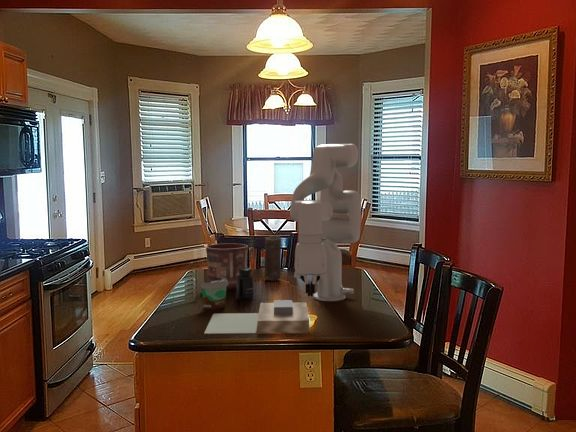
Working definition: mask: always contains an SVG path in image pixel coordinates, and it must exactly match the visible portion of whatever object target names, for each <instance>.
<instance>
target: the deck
mask: <svg viewBox="0 0 576 432" xmlns="http://www.w3.org/2000/svg"><path fill="white" fill-rule="evenodd" d="M292 305H293V315H274V302H260V304H259V309H258V313H259V315H258V320H257V334H258V335H259V334H260V335H261V334H310V317H309V311H308V306H307V302H306V301H305V302H304V301H303V302H298V301H297V302H292Z"/></svg>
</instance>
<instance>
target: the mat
mask: <svg viewBox="0 0 576 432" xmlns="http://www.w3.org/2000/svg"><path fill="white" fill-rule="evenodd" d="M258 315H259V312H253V313H252V312H249V313H248V312H247V313H246V312H244V313H243V312H242V313H240V312H238V313H237V312H236V313H231V312H230V313H229V312H228V313H213V314H212V316H211V318H210V320H209V321H208V324H207V326H206V329H205V330H204V333H203V334H204V335H235V334H236V335H239V334H241V335H243V334H246V335H247V334H249V335H252V334H253V335H255V334H257V331H258V329H257V320H258Z"/></svg>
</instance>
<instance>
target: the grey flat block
mask: <svg viewBox="0 0 576 432" xmlns="http://www.w3.org/2000/svg"><path fill="white" fill-rule="evenodd" d="M273 303H274V315H293V305H292V303H293V300H292V299H291V300H290V299H288V300H287V299H285V300H284V299H279V300H277V299H274V300H273Z"/></svg>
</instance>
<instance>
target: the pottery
mask: <svg viewBox="0 0 576 432" xmlns="http://www.w3.org/2000/svg"><path fill="white" fill-rule="evenodd" d="M205 248H206V249H205V251H206V263H207V280H208V283H209V282H211V281H217V280H220V279H221V277H225V278H226V279H227V281H228V286H227V287H226V291H232V290H233V291H234V290H236V279H237V276H238V275H240V274H239V269H240V268H248V253H249V245H247V244H245V243H234V242H233V243H232V242H230V243H227V242H226V243H225V242H224V243H214V244H209V245H207V246H205Z"/></svg>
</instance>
